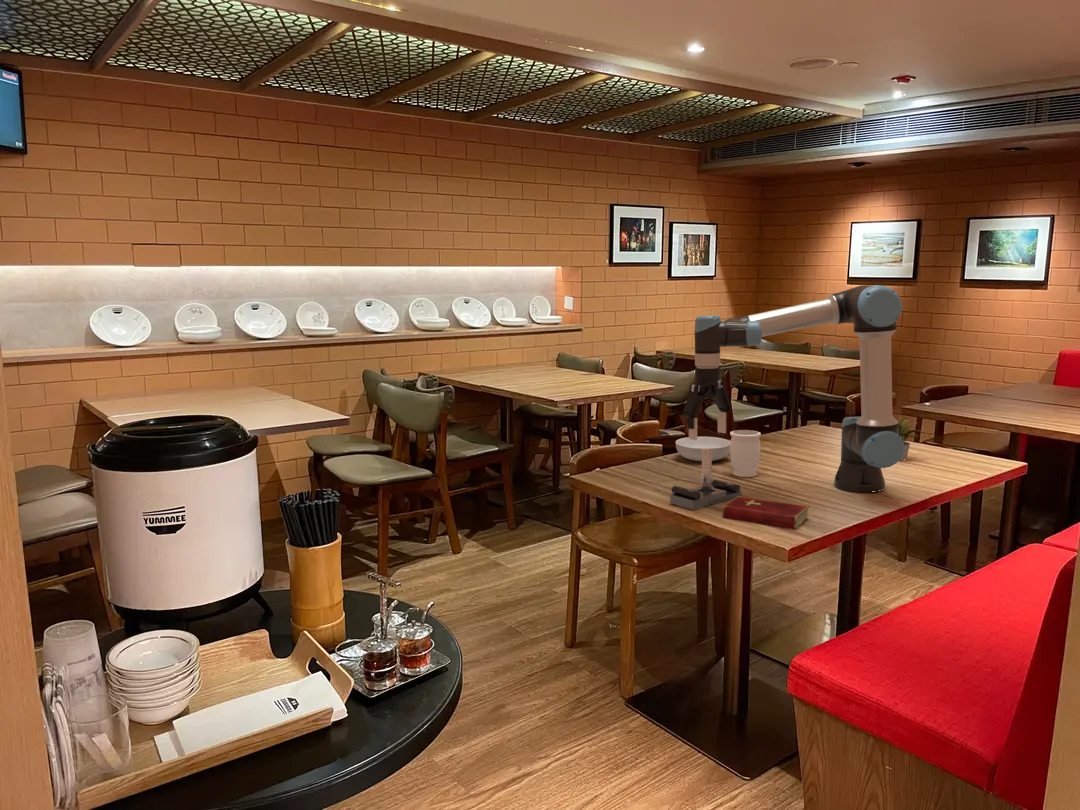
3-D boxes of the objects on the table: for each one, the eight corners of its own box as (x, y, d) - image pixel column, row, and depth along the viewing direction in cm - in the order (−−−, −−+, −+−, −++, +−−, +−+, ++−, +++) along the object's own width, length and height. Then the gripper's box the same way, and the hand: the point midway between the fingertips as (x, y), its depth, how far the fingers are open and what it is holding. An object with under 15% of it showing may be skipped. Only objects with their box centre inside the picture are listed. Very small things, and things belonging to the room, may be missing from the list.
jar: (761, 478, 260) (762, 435, 258) (730, 478, 262) (730, 435, 260) (758, 471, 270) (759, 429, 268) (728, 470, 273) (729, 429, 270)
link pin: (713, 499, 237) (713, 449, 234) (707, 501, 235) (707, 451, 233) (705, 497, 239) (706, 448, 237) (699, 499, 237) (699, 449, 235)
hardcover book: (795, 531, 207) (796, 516, 207) (722, 519, 219) (722, 505, 219) (808, 519, 217) (809, 505, 216) (737, 508, 229) (737, 495, 228)
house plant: (889, 465, 274) (891, 420, 272) (867, 456, 288) (869, 414, 285) (925, 463, 276) (928, 418, 273) (903, 454, 289) (905, 412, 287)
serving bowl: (664, 459, 292) (664, 442, 291) (698, 451, 305) (698, 434, 304) (708, 468, 276) (708, 450, 275) (742, 459, 289) (743, 441, 288)
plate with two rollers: (741, 495, 240) (742, 479, 240) (693, 510, 226) (693, 493, 226) (717, 490, 248) (718, 473, 247) (669, 504, 234) (669, 486, 233)
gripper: (723, 362, 241) (723, 428, 244) (670, 370, 226) (670, 440, 229) (743, 363, 235) (743, 431, 239) (689, 371, 220) (690, 443, 223)
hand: (707, 435), depth 234 cm, fingers open, 13 cm apart
